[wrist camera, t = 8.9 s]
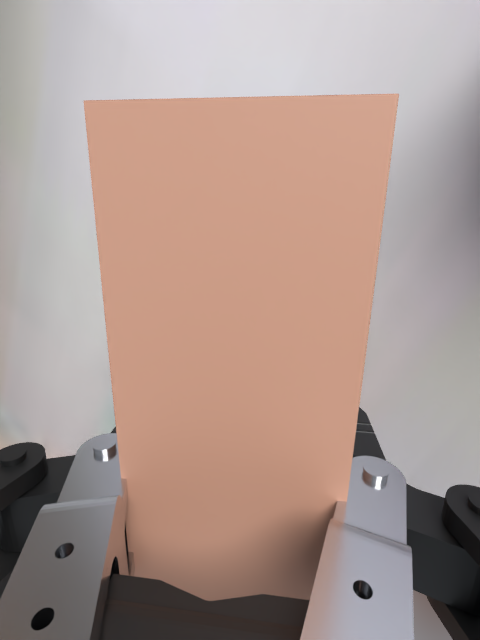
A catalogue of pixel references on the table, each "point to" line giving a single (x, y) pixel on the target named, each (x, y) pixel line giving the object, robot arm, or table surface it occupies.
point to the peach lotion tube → (237, 323)
